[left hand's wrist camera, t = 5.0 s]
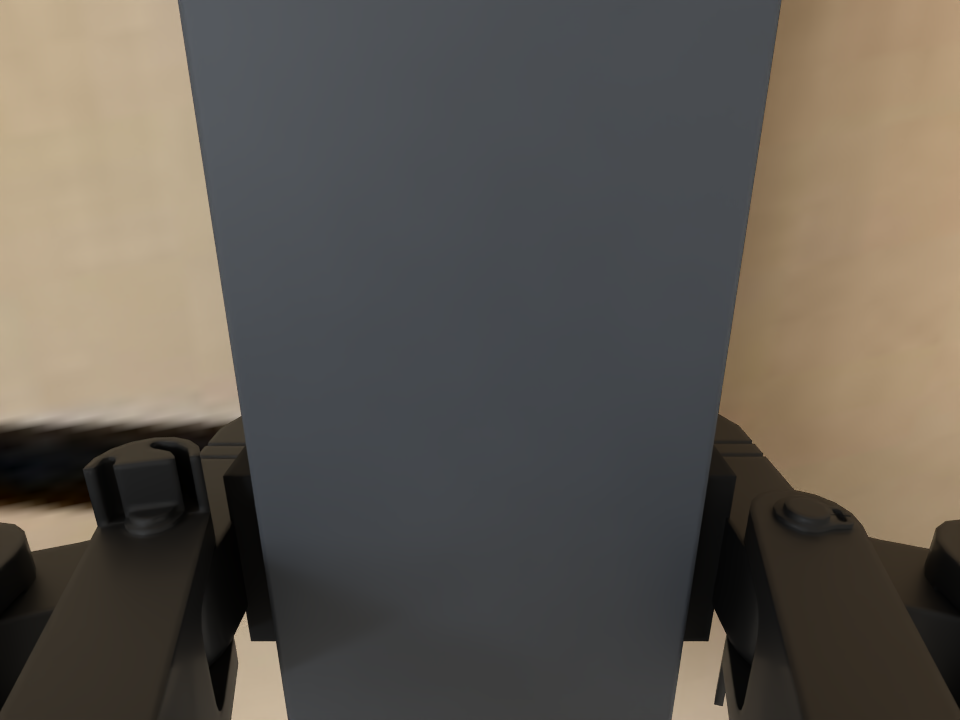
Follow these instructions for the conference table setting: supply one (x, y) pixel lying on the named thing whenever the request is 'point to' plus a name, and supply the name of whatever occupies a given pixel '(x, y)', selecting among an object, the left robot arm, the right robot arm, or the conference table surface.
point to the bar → (479, 333)
